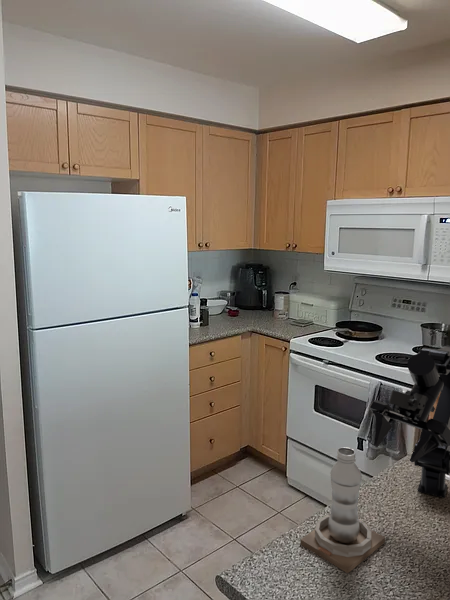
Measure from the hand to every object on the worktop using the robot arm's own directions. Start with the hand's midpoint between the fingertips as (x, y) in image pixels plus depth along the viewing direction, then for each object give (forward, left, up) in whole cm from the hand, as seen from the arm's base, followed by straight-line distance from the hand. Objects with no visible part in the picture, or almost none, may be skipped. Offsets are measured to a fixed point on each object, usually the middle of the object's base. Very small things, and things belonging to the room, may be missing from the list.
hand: (392, 453), depth 107 cm
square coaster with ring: (+11, -8, -18) cm, 22 cm away
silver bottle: (+11, -8, -16) cm, 21 cm away
